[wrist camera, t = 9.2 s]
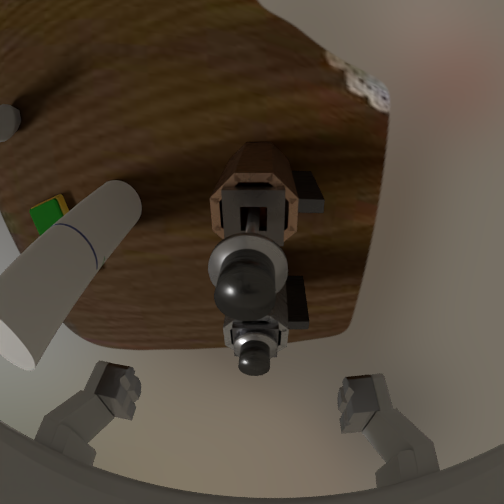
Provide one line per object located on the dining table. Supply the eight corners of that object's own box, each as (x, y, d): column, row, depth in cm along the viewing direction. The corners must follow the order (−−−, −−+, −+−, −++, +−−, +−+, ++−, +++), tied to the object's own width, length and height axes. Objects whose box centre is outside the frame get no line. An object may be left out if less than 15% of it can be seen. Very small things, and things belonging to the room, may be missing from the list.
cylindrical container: (142, 184, 35) (15, 324, 13) (141, 232, 38) (46, 381, 17) (96, 177, 34) (-39, 293, 13) (98, 223, 38) (-8, 351, 17)
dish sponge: (71, 273, 44) (64, 281, 42) (36, 204, 37) (28, 210, 35) (98, 268, 43) (92, 276, 41) (63, 192, 36) (54, 198, 34)
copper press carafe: (229, 142, 32) (205, 176, 20) (309, 143, 31) (334, 178, 20) (231, 196, 35) (212, 256, 24) (306, 197, 35) (325, 258, 23)
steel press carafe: (234, 247, 39) (220, 320, 28) (303, 248, 38) (315, 321, 27) (236, 287, 42) (225, 361, 31) (299, 288, 42) (307, 362, 31)
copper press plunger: (228, 177, 24) (194, 261, 13) (281, 177, 23) (293, 262, 13) (230, 224, 26) (205, 328, 15) (280, 225, 26) (287, 330, 15)
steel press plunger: (240, 273, 36) (229, 352, 25) (276, 273, 36) (278, 354, 25) (241, 300, 38) (232, 378, 28) (275, 300, 38) (276, 379, 28)
